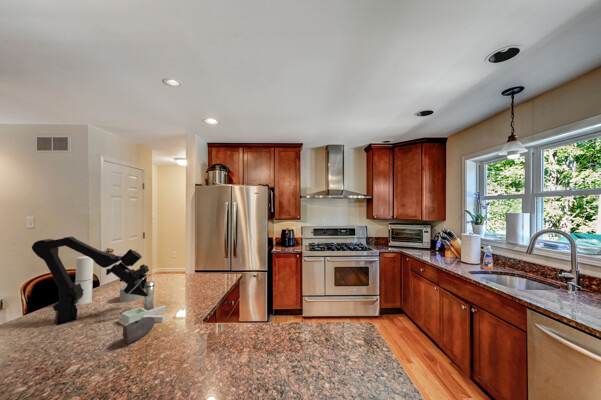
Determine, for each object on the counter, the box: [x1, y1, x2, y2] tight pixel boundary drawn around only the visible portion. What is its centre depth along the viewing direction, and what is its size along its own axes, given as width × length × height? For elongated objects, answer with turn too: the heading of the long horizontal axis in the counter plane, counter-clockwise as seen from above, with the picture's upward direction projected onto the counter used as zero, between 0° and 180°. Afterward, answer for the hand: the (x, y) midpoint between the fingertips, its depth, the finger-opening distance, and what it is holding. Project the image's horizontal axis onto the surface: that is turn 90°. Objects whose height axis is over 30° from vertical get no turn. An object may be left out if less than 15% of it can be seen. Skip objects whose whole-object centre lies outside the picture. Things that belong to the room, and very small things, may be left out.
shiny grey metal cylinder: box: [143, 280, 155, 310], centre depth 123 cm, size 4×4×14 cm
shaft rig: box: [117, 305, 168, 327], centre depth 113 cm, size 19×18×4 cm
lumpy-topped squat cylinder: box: [119, 283, 145, 303], centre depth 140 cm, size 10×13×9 cm
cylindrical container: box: [74, 255, 94, 306], centre depth 134 cm, size 7×7×25 cm
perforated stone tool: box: [122, 317, 156, 345], centre depth 96 cm, size 15×5×7 cm, turn 168°
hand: (149, 293), depth 123 cm, fingers open, 9 cm apart
